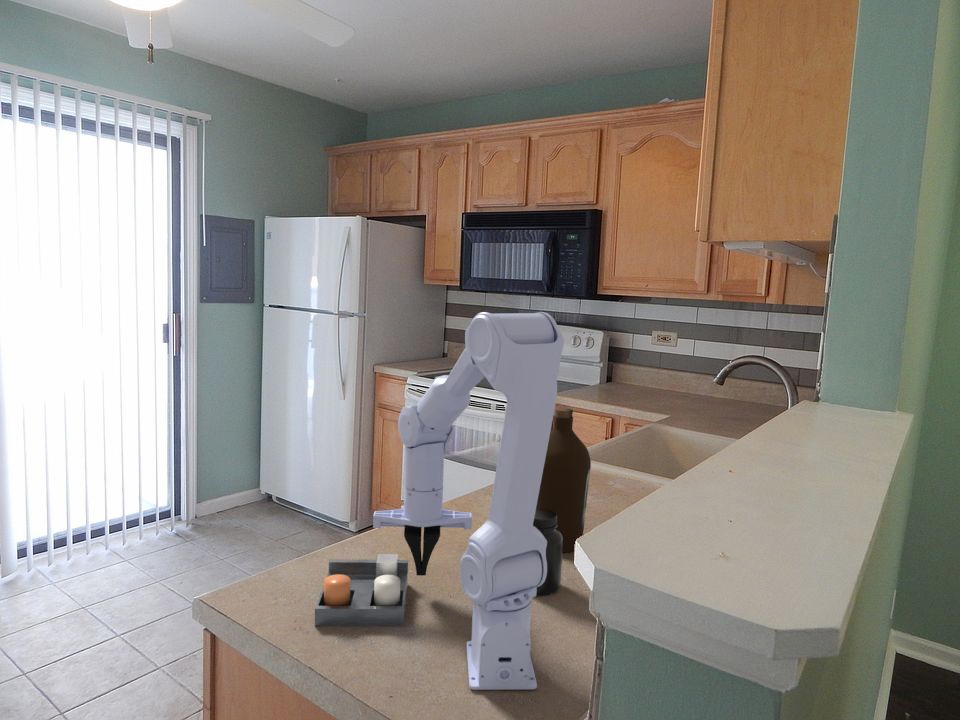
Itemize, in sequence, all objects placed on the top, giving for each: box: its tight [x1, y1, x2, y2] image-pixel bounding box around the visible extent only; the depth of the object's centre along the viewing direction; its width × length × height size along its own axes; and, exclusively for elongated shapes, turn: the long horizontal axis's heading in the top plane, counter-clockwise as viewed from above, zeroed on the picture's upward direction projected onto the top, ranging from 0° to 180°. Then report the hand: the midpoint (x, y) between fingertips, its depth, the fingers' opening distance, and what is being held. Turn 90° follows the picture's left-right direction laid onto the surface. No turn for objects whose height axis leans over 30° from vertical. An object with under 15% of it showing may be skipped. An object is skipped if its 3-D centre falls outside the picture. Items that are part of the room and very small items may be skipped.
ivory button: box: [374, 575, 400, 606], centre depth 91 cm, size 4×4×3 cm
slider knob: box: [376, 553, 399, 578], centre depth 97 cm, size 3×3×3 cm
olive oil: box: [536, 406, 592, 553], centre depth 117 cm, size 11×11×25 cm
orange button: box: [323, 574, 350, 606], centre depth 91 cm, size 4×4×3 cm
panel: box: [314, 558, 409, 627], centre depth 94 cm, size 12×12×4 cm
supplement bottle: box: [533, 509, 563, 597], centre depth 101 cm, size 7×7×12 cm
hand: (421, 572), depth 98 cm, fingers closed
